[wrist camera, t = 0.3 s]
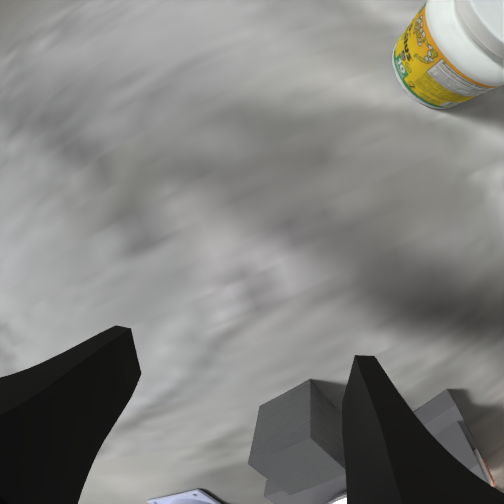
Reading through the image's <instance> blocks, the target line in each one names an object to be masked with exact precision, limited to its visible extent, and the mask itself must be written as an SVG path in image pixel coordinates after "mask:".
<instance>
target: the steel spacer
mask: <svg viewBox="0 0 504 504" xmlns="http://www.w3.org/2000/svg"><path fill="white" fill-rule="evenodd" d="M248 464H249V465H250V466H251V467H253V468H254V469H255V470H256V471H258V472H259V473H260V474H262V475H263V476H264V477H266V478H267V479H268V480H270V481H271V482H272V483H274V484H275V485H277V486H278V487H279V488H281V489H282V490H284V491H285V492H286V493H288V494H289V495H292V494H295V493H298V492H301V491H304V490H307V489H309V488H312V487H315V486H318V485H320V484H323V483H325V482H328V481H331V480H333V479H335V478H338V477H340V476H343V475H345V474H346V472H345V459H344V447H343V435H342V414H341V413H340V412H339V410H338V409H337V408H336V407H335V406H334V405H333V404H332V403H331V402H330V401H329V400H328V398H327V397H326V396H325V395H324V394H323V393H322V392H321V391H320V390H319V389H318V387H317V386H316V385H315V384H314V383H313V382H312V381H311V380H310V379H309V380H307V381H305V382H303V383H302V384H300V385H298V386H296V387H294V388H293V389H291V390H289V391H287V392H285V393H284V394H282V395H280V396H278V397H276V398H274V399H272V400H270V401H268V402H267V403H265V404H263V405H261V406H260V407H259V412H258V417H257V422H256V427H255V432H254V437H253V442H252V447H251V451H250V456H249V461H248Z"/></svg>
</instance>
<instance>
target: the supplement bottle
mask: <svg viewBox="0 0 504 504" xmlns="http://www.w3.org/2000/svg"><path fill="white" fill-rule="evenodd" d="M392 63H393V67H394V70H395V73H396V76H397V78H398V81H399V82H400V84H401V86H402V87H403V88H404V90H405V91H406V92H407V93H408V94H409V95H410V96H411V97H412V98H414V99H415V100H416V101H418V102H420V103H421V104H423V105H425V106H428V107H431V108H437V109H445V108H450V107H453V106H455V105H457V104H460V103H463V102H465V101H467V100H469V99H472V98H474V97H476V96H479V95H481V94H483V93H486V92H488V91H491V90H493V89H495V88H498V87H500V86H502V85H504V0H427V1H426V2H425V4H424V5H423V7H422V8H421V9H420V11H419V12H418V13H417V15H416V16H415V18H414V19H413V21H412V22H411V23H410V25H409V26H408V27H407V29H406V30H405V32H404V33H403V34H402V36H401V37H400V38H399V40H398V41H397V43H396V45H395V47H394V50H393V55H392Z"/></svg>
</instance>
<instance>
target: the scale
mask: <svg viewBox="0 0 504 504" xmlns="http://www.w3.org/2000/svg"><path fill="white" fill-rule="evenodd" d="M413 413H414V414H415V415H416V416H417V418H418V419H419V420H420V421H421V423H422V424H423V425H424V426H425V428H426V429H427V430H428V431H429V432H430V433H431V434H432V435H433V437H434V438H435V439H436V440H437V441H438V442H439V443H440V444H441V445H442V446H443V447H444V448H445V449H446V450H447V451H448V452H449V453H450V454H451V455H453V456H454V457H455V458H456V459H457V460H458V461H459V462H461V463H462V464H463V465H464V466H465V467H467V468H468V469H469V470H470V471H471V472H473V473H474V474H475V475H477V476H478V477H479V478H481V479H482V480H484V481H485V482H487V483H488V484H490V485H491V486H493V487H495V486H496V484H495V482H494V480H493V478H492V476H491V473H490V471H489V469H488V467H487V465H486V463H485V461H484V459H482V457H481V455H480V452H479V450H478V448H477V446H476V444H475V442H474V440H473V438H472V436H471V434H470V431H469V429H468V427H467V425H466V423H465V421H464V419H463V418H462V416H461V414H460V412H459V410H458V408H457V406H456V404H455V402H454V401H453V399H452V397H451V395H450V394H449V392H448V390H445V391H444V392H442V393H441V394H439V395H438V396H437V397H435V398H434V399H432V400H431V401H429V402H428V403H426V404H425V405H423V406H421V407H420V408H418V409H417V410H415V411H414V412H413ZM344 492H347V487H346V474H345V475H343V476H340V477H338V478H335V479H333V480H331V481H328V482H325V483H323V484H320V485H318V486H315V487H312V488H309V489H307V490H304V491H301V492H298V493H295V494H292V495H289V494H288V493H286V492H285V491H284V490H282V489H281V488H279V487H278V486H277V485H275V484H274V483H272V482H271V481H270V480H268V481H266V486H265V493H264V497H265V498H267V499H268V500H270V501H271V502H273V503H274V504H323V503H325V502H326V501H328V500H329V499H331V498H333V497H335V496H337V495H340V494H342V493H344Z"/></svg>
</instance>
